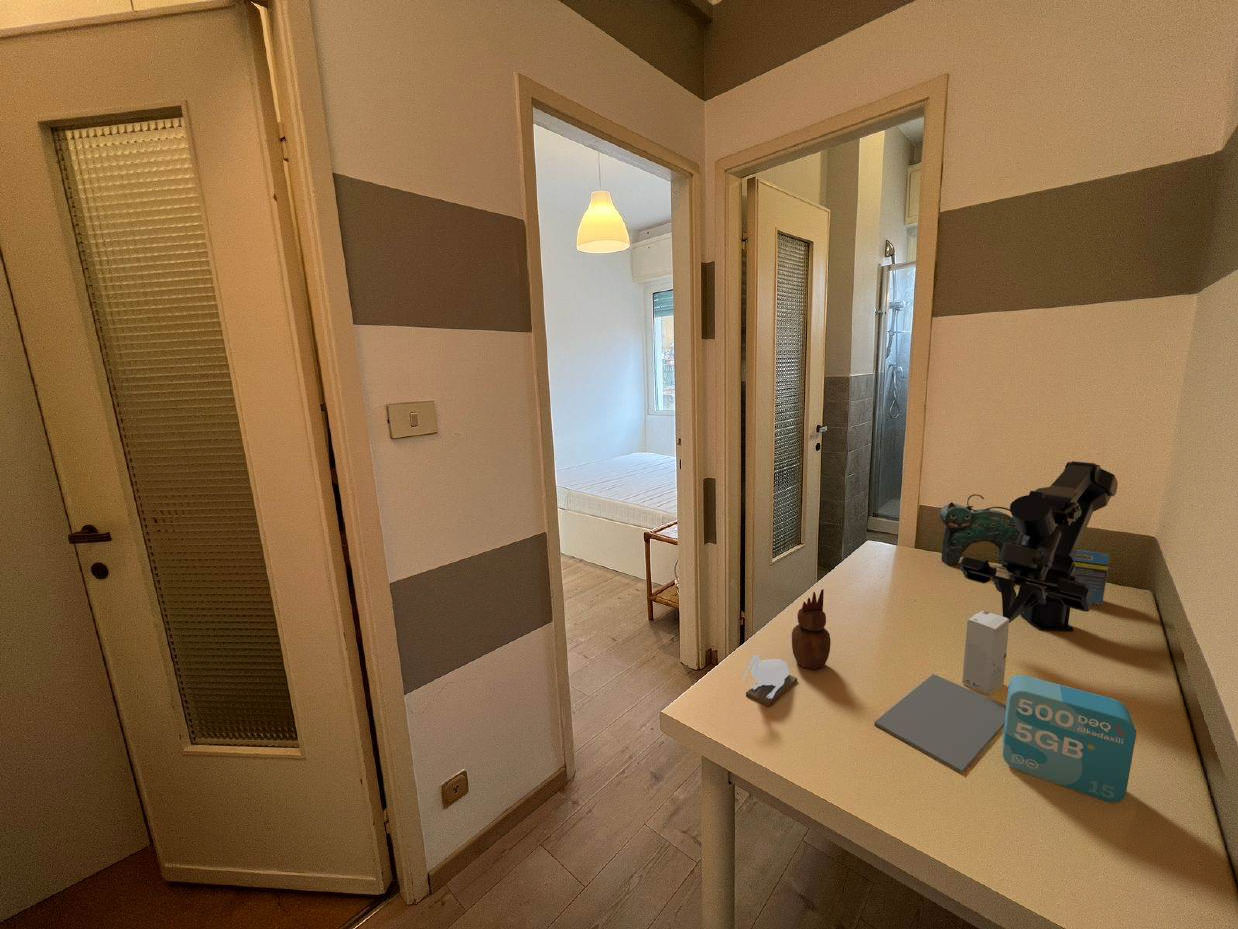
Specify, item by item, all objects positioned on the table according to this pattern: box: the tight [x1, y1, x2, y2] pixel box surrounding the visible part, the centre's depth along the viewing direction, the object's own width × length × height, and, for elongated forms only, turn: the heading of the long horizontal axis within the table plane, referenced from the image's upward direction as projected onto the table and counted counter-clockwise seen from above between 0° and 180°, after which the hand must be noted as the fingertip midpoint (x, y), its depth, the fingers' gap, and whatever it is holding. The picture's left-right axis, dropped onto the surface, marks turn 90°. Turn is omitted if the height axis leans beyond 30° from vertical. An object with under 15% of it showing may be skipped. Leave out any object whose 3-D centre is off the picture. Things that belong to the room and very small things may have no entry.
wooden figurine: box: [791, 588, 832, 670], centre depth 91 cm, size 7×6×15 cm
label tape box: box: [1073, 549, 1110, 606], centre depth 113 cm, size 9×4×12 cm, turn 58°
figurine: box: [742, 654, 798, 708], centre depth 84 cm, size 14×4×9 cm, turn 133°
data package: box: [1002, 674, 1137, 804], centre depth 65 cm, size 12×4×12 cm, turn 53°
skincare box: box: [961, 610, 1010, 696], centre depth 84 cm, size 6×4×12 cm
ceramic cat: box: [939, 493, 1020, 567], centre depth 134 cm, size 20×6×20 cm, turn 81°
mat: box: [873, 673, 1007, 774], centre depth 77 cm, size 20×12×1 cm, turn 125°
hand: (1006, 621), depth 89 cm, fingers closed
